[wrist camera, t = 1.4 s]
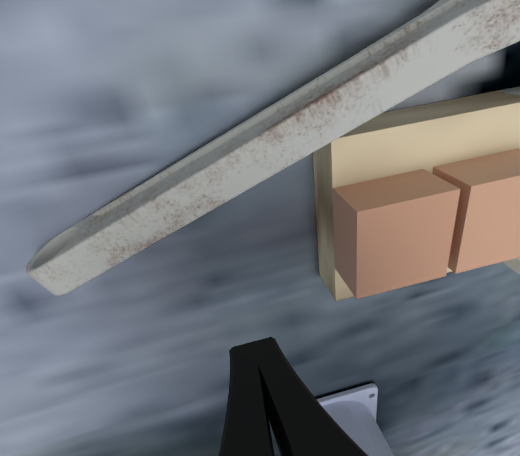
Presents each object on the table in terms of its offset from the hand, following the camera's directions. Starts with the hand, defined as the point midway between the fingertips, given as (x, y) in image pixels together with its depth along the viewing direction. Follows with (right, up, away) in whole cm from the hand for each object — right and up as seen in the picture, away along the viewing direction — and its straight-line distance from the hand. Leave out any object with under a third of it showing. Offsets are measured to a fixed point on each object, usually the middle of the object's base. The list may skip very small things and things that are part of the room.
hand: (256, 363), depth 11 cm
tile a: (+11, +6, +7) cm, 14 cm away
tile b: (+6, +5, +6) cm, 10 cm away
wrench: (+2, +11, +6) cm, 12 cm away
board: (+8, +6, +9) cm, 14 cm away
